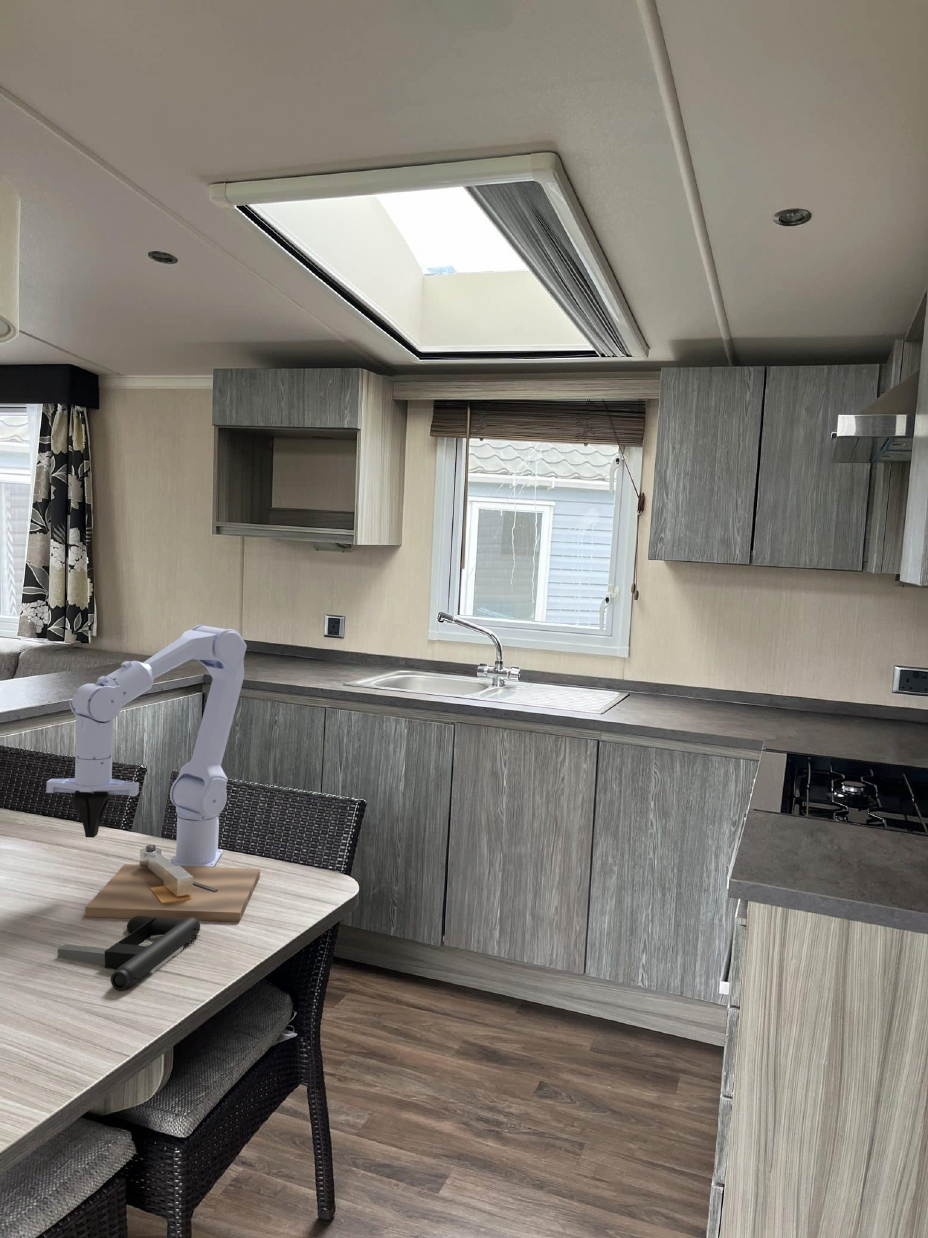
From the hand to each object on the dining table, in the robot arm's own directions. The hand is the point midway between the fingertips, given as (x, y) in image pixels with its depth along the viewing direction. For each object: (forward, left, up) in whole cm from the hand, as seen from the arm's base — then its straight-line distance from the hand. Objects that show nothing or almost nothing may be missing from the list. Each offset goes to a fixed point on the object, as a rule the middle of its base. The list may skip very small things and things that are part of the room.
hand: (91, 835), depth 154 cm
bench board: (+1, +15, -9) cm, 18 cm away
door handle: (+24, +13, -10) cm, 29 cm away
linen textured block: (-1, +12, -7) cm, 14 cm away
